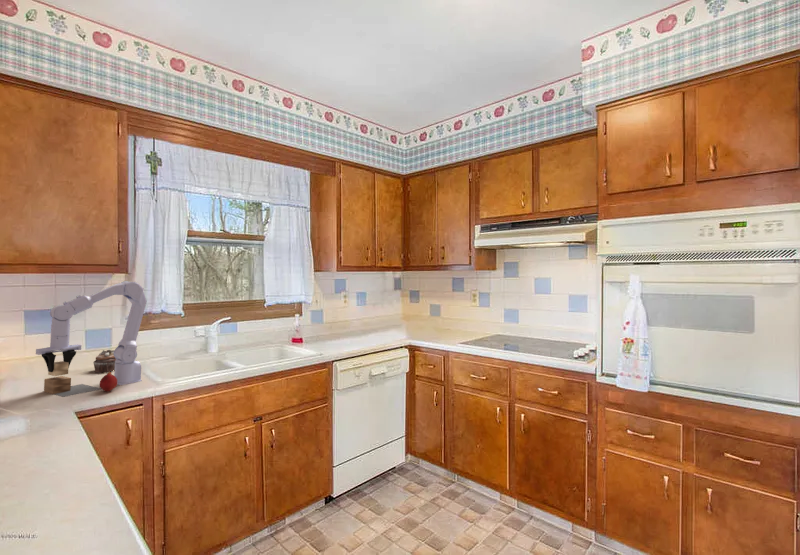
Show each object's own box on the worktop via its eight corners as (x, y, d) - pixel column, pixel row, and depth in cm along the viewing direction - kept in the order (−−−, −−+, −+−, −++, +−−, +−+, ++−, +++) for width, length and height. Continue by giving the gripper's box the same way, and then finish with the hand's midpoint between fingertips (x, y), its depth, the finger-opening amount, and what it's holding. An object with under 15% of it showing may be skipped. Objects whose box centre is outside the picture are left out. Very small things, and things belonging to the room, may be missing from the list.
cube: (61, 372, 165) (62, 361, 165) (68, 373, 164) (68, 362, 164) (48, 374, 161) (48, 363, 161) (54, 376, 159) (55, 364, 160)
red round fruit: (107, 394, 162) (108, 374, 162) (95, 393, 163) (96, 373, 163) (120, 391, 168) (121, 371, 168) (108, 389, 169) (109, 370, 169)
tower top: (61, 382, 166) (62, 375, 166) (70, 384, 164) (71, 378, 164) (44, 385, 161) (44, 378, 161) (53, 387, 158) (53, 381, 158)
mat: (82, 384, 174) (82, 383, 174) (102, 389, 168) (102, 388, 168) (42, 392, 161) (42, 391, 161) (63, 397, 156) (63, 396, 156)
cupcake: (104, 368, 205) (105, 348, 205) (122, 369, 204) (123, 349, 204) (87, 372, 195) (88, 351, 195) (106, 373, 194) (107, 352, 194)
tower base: (61, 388, 166) (61, 382, 166) (70, 390, 164) (70, 384, 164) (43, 391, 161) (44, 385, 161) (52, 394, 158) (53, 387, 158)
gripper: (44, 338, 154) (42, 375, 154) (86, 334, 168) (84, 368, 167) (33, 337, 157) (31, 372, 157) (76, 333, 170) (74, 366, 170)
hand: (58, 370), depth 162 cm, fingers closed on cube, 4 cm apart
